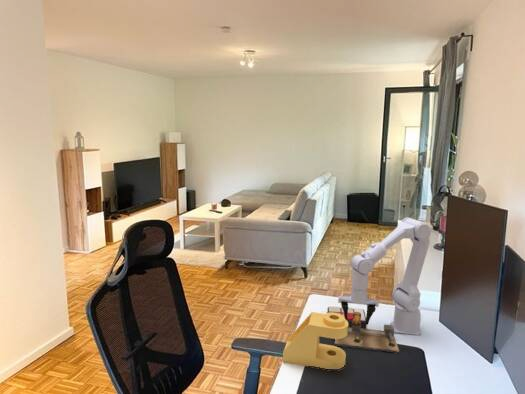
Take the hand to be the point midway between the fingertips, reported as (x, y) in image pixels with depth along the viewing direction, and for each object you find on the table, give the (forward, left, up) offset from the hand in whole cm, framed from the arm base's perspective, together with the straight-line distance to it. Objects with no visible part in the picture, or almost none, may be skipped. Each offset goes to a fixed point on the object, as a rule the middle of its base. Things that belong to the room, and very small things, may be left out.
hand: (356, 321), depth 142 cm
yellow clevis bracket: (+15, +19, -6) cm, 25 cm away
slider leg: (0, +3, -4) cm, 5 cm away
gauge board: (-3, +3, -5) cm, 7 cm away
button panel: (+3, -11, -6) cm, 13 cm away
